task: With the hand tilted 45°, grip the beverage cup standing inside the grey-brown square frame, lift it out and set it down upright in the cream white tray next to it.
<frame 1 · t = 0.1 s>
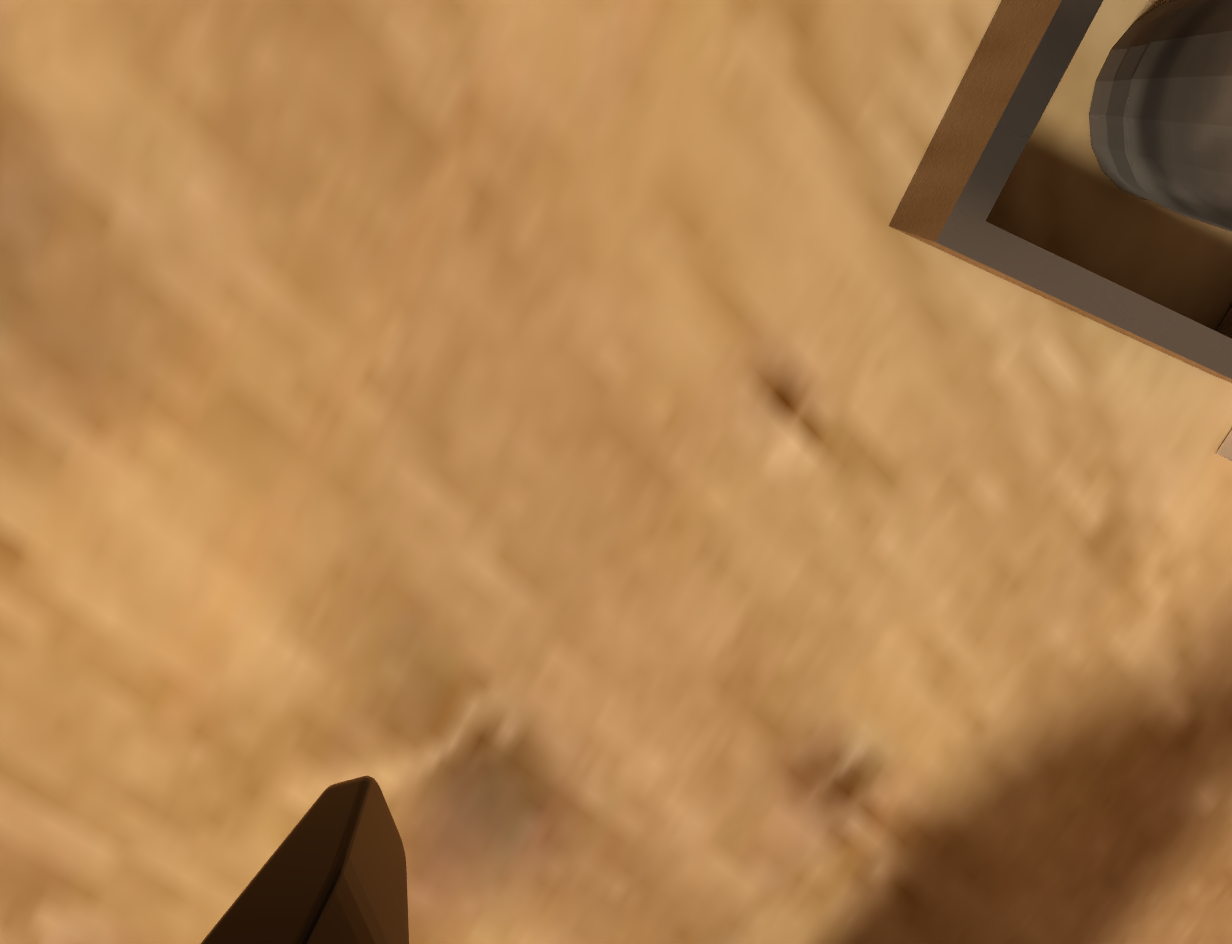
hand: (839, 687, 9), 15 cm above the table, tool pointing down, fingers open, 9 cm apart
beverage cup: (1174, 100, 22), resting in grey-brown square frame
grey-brown square frame: (1180, 100, 22), on the table
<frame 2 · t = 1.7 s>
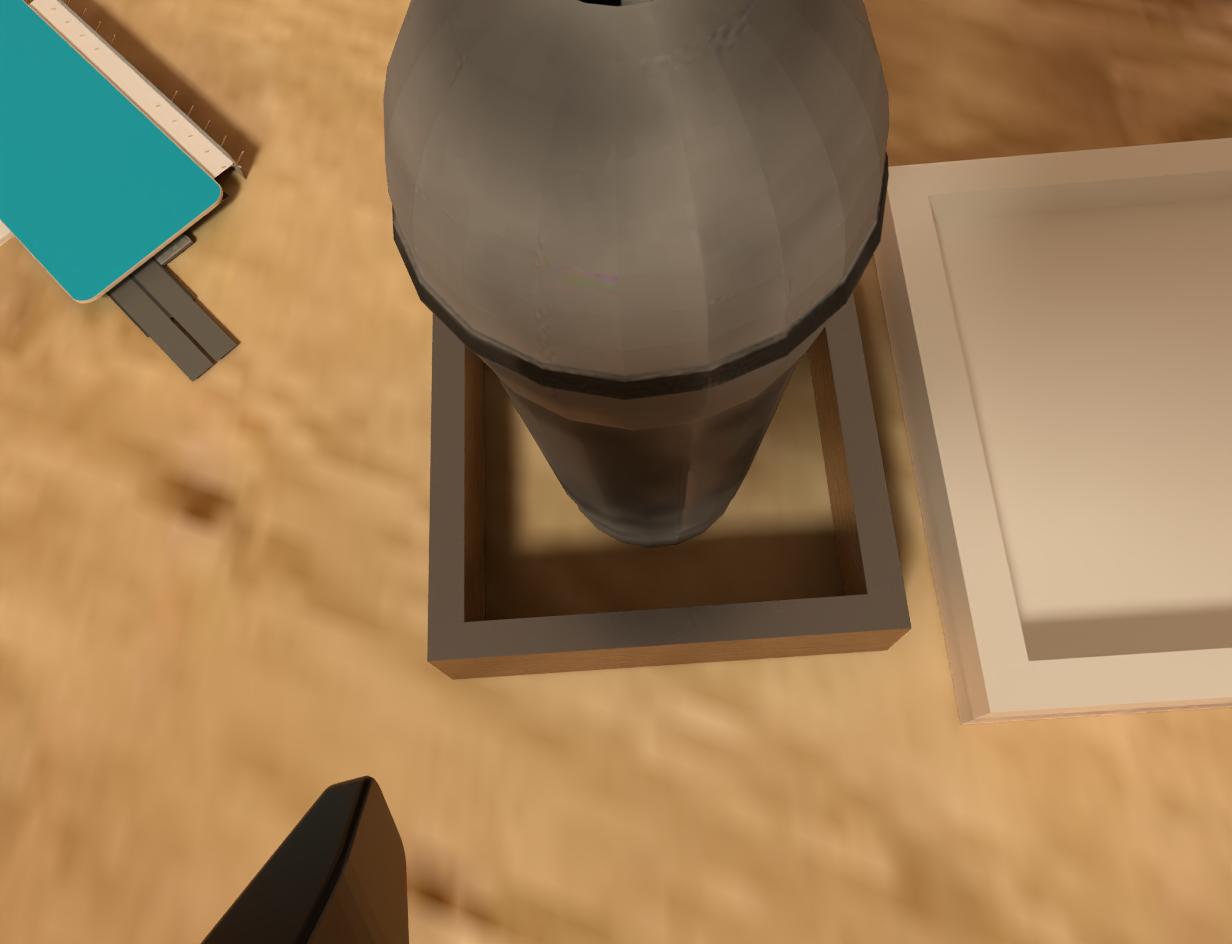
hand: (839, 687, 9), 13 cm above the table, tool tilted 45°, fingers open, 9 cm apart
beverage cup: (652, 466, 25), resting in grey-brown square frame
cream white tray: (1185, 424, 24), on the table
grey-brown square frame: (652, 463, 24), on the table
phone stand: (23, 199, 30), on the table
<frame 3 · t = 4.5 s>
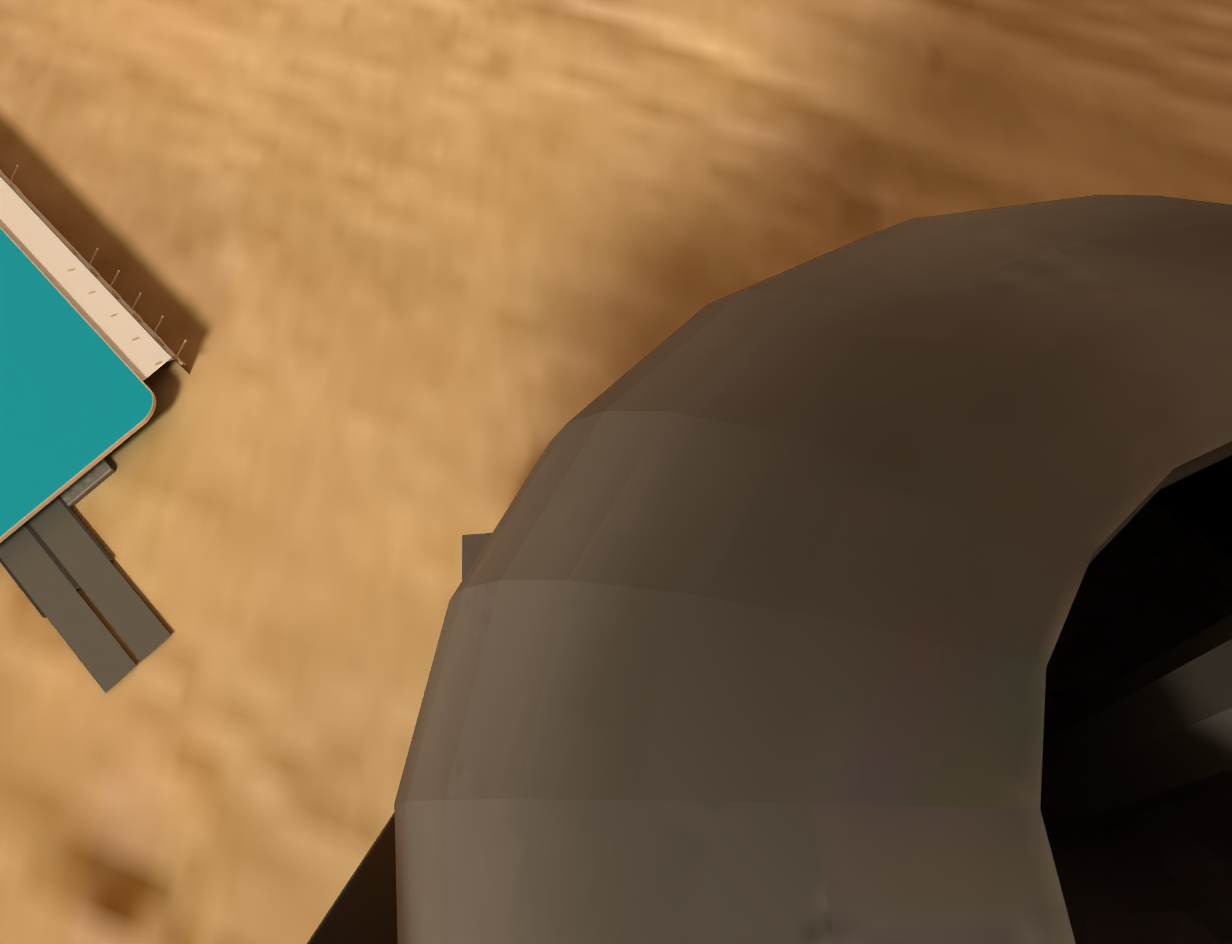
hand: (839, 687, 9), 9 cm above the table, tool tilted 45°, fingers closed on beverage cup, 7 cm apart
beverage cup: (784, 840, 17), resting in grey-brown square frame, touching gripper
grey-brown square frame: (786, 840, 16), on the table
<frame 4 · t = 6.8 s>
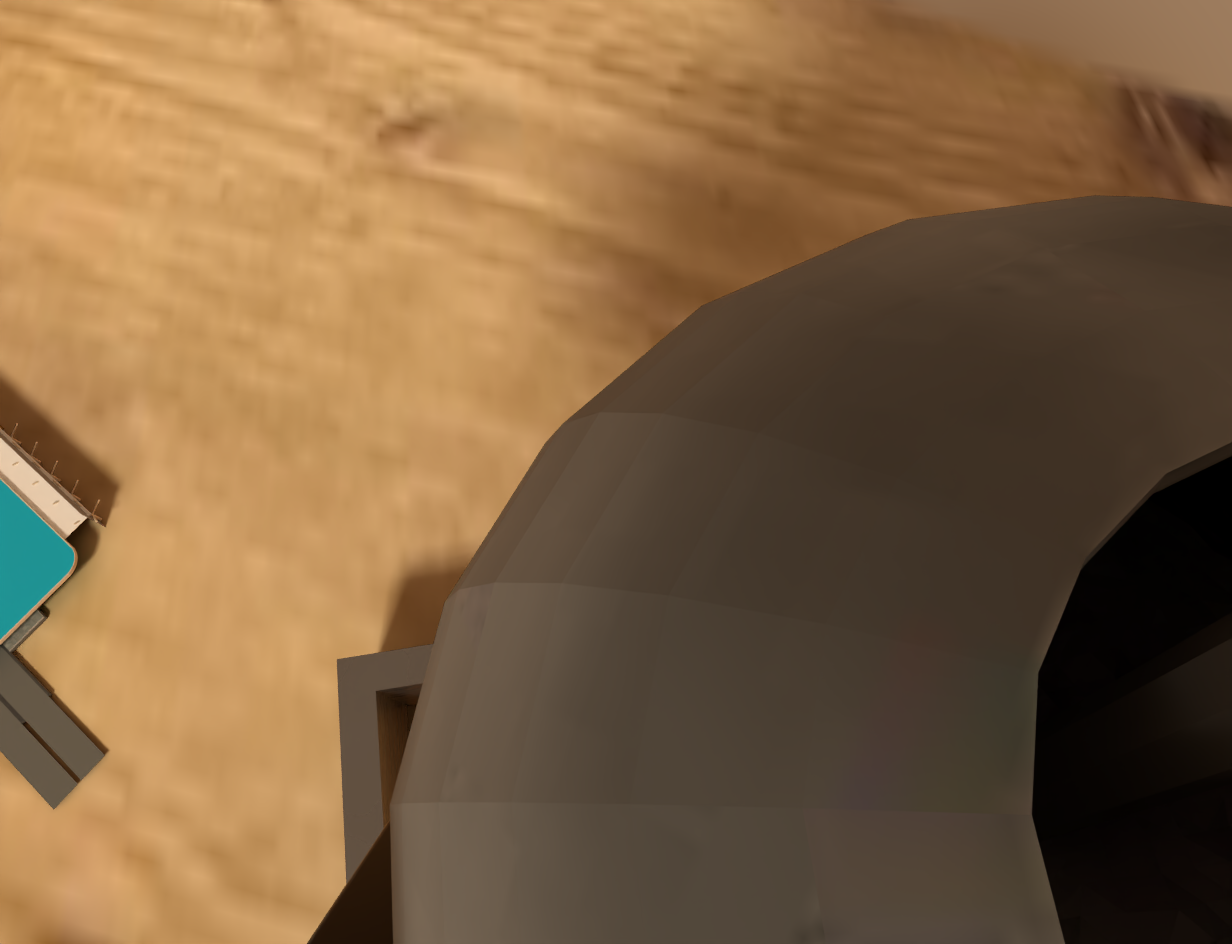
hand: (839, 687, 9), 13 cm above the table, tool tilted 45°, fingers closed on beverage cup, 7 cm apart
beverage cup: (782, 837, 17), point 4 cm above the table, touching gripper
grey-brown square frame: (617, 875, 21), on the table
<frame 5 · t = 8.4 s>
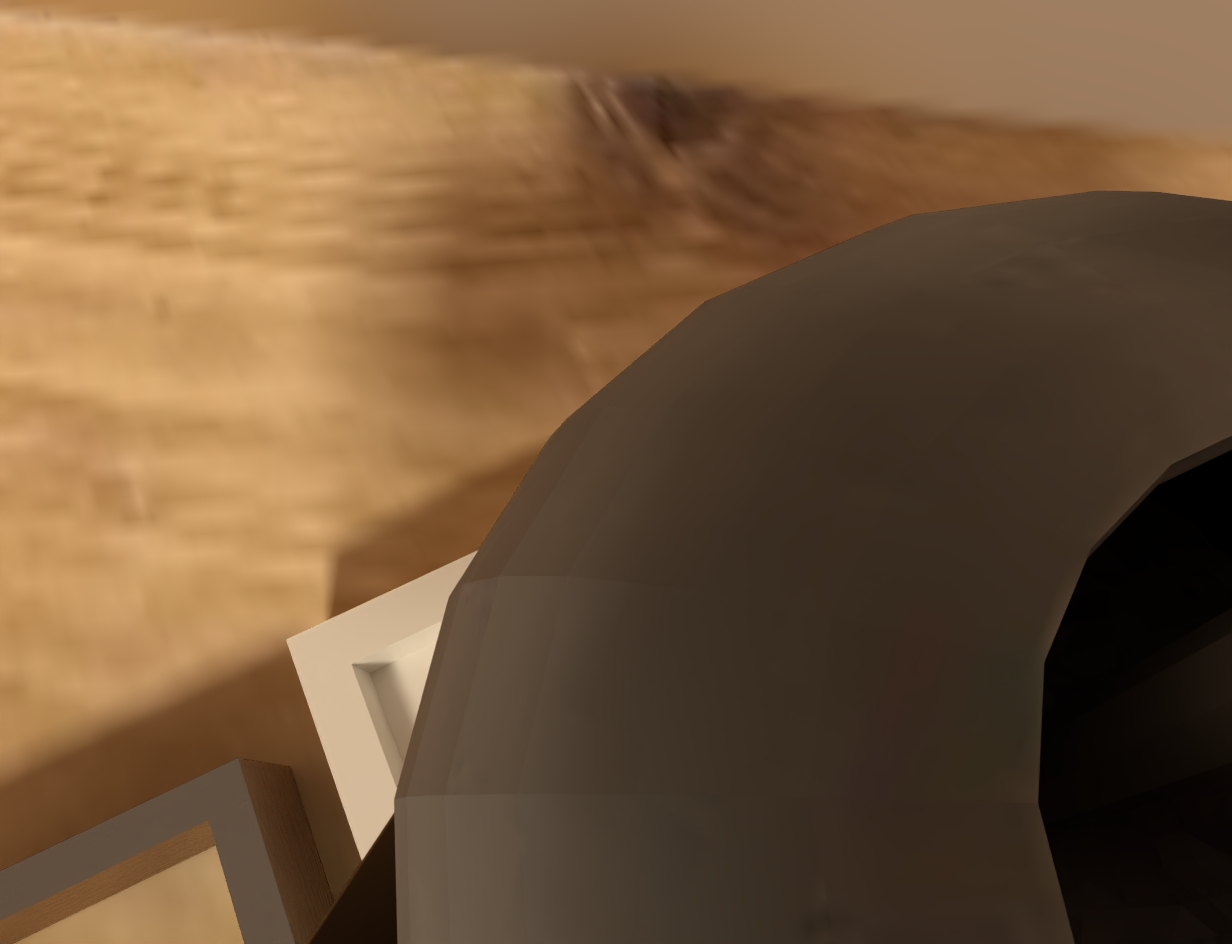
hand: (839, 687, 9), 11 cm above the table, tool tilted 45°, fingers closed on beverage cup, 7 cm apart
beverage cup: (782, 835, 17), point 2 cm above the table, touching gripper
cream white tray: (769, 823, 19), on the table
when the fingers open (11 cm above the table, at t = 9.2 s): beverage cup drops 1 cm, resting on cream white tray.
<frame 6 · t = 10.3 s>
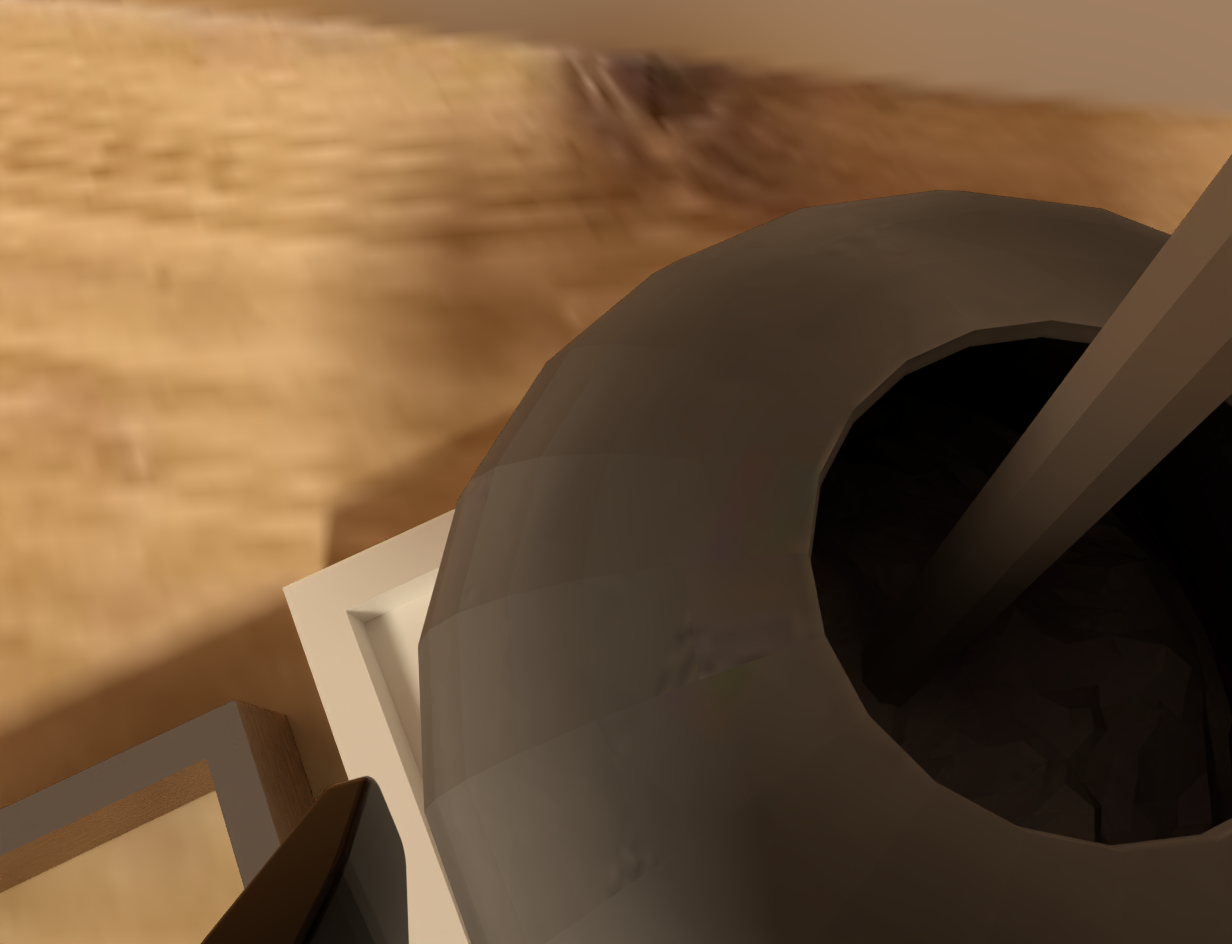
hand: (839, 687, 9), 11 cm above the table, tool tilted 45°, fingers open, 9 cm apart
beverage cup: (758, 776, 18), point 1 cm above the table, touching cream white tray
cream white tray: (752, 768, 19), on the table
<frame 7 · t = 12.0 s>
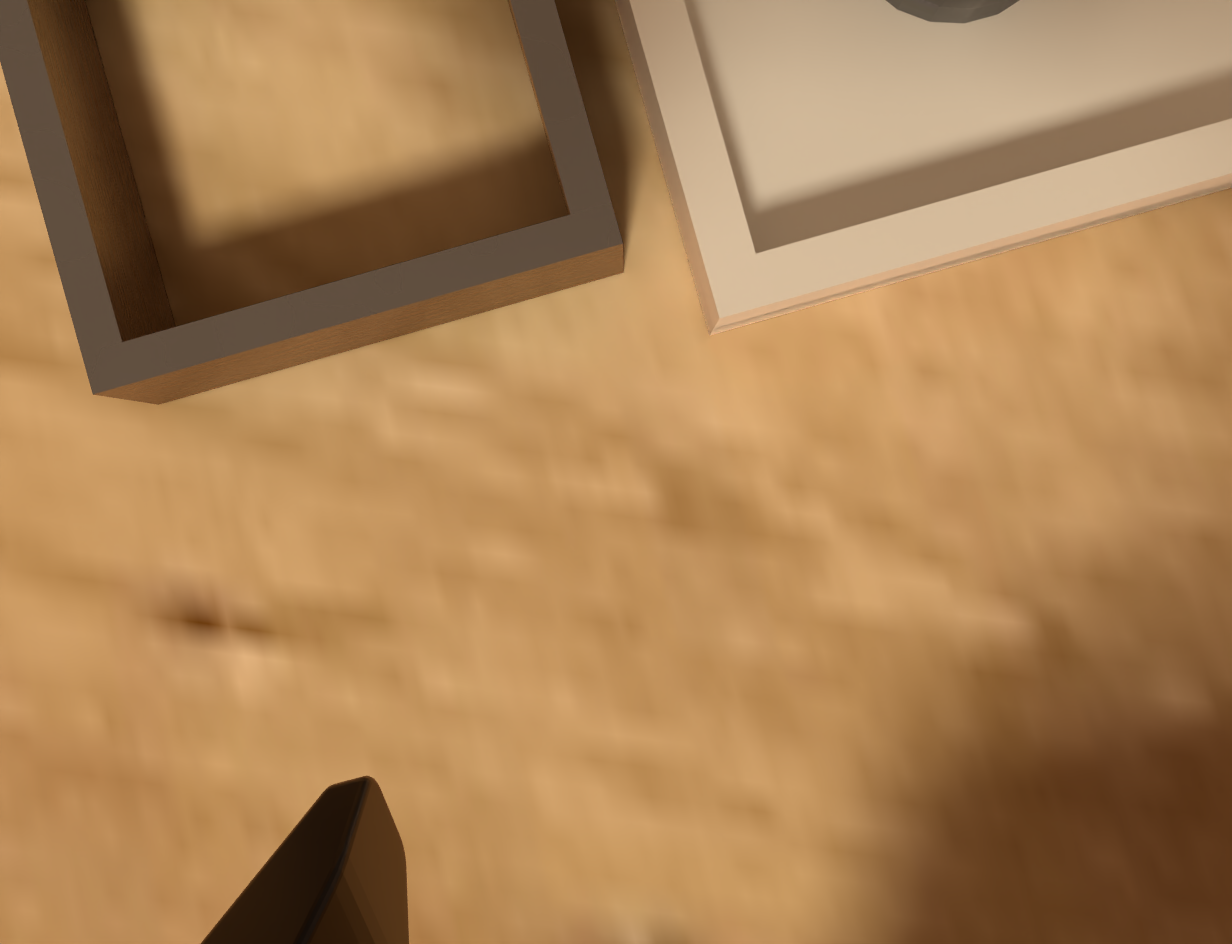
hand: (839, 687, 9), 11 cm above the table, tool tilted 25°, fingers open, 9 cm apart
grey-brown square frame: (325, 106, 20), on the table
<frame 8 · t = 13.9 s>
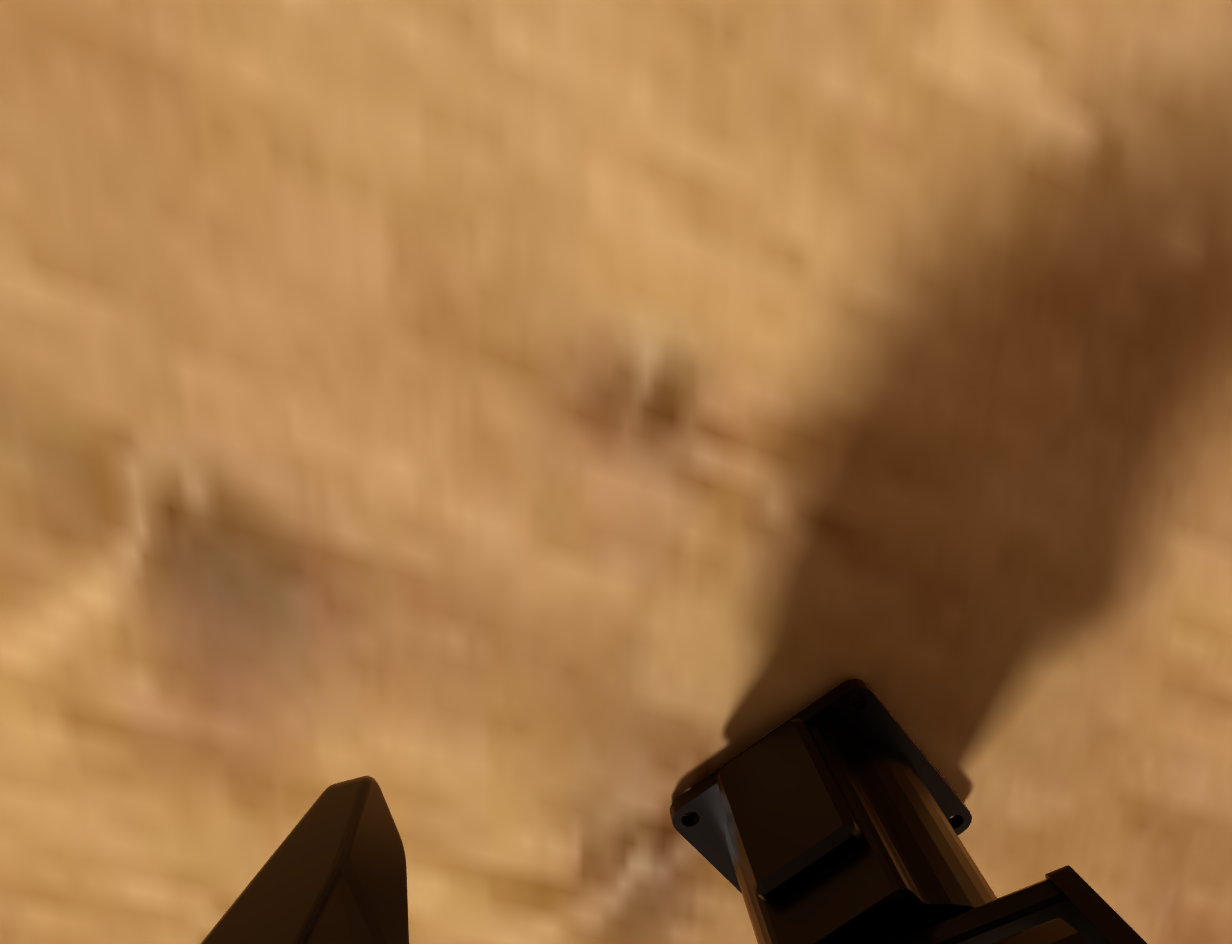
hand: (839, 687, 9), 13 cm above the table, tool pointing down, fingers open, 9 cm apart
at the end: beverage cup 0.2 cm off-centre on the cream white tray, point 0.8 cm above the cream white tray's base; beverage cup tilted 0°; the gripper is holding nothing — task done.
